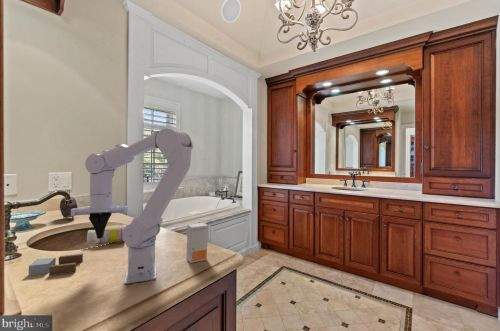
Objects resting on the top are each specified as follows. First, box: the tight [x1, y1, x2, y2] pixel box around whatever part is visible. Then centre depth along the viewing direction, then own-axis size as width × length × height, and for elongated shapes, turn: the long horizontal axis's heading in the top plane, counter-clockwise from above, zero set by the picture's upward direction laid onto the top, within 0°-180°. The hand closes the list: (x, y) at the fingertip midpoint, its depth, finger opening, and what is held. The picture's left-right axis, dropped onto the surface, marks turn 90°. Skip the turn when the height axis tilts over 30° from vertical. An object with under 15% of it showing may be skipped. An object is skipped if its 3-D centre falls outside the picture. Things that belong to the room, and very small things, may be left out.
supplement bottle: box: [86, 224, 127, 245], centre depth 91 cm, size 7×7×13 cm
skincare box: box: [186, 222, 209, 264], centre depth 78 cm, size 6×4×12 cm
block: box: [28, 256, 57, 276], centre depth 67 cm, size 4×4×3 cm
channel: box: [48, 253, 84, 277], centre depth 69 cm, size 8×6×2 cm
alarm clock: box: [59, 189, 78, 221], centre depth 124 cm, size 11×5×16 cm, turn 58°
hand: (100, 237), depth 70 cm, fingers closed
